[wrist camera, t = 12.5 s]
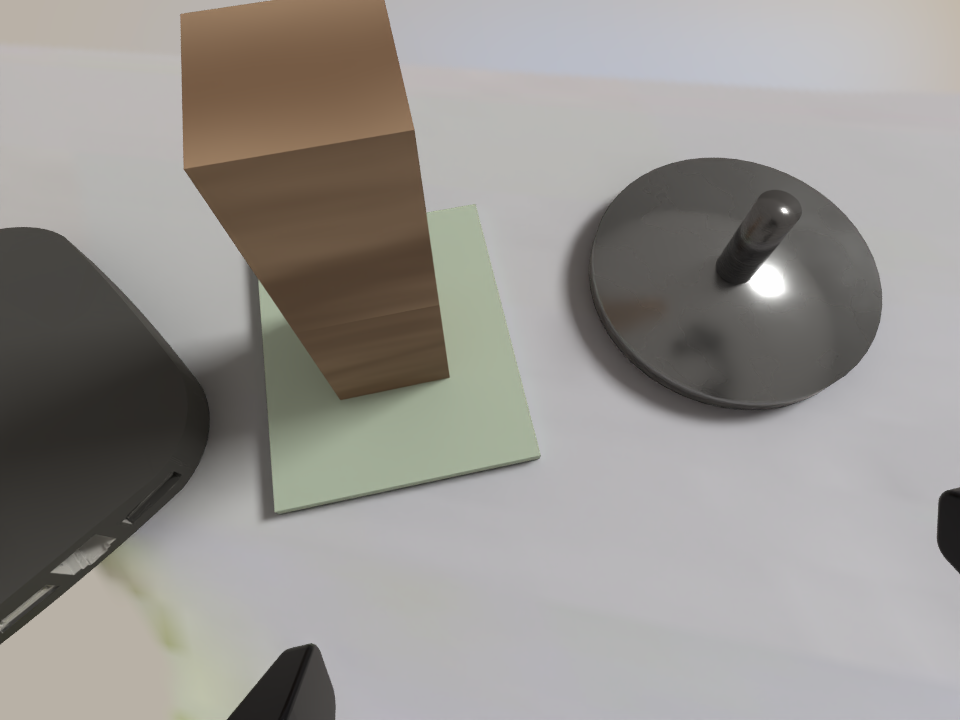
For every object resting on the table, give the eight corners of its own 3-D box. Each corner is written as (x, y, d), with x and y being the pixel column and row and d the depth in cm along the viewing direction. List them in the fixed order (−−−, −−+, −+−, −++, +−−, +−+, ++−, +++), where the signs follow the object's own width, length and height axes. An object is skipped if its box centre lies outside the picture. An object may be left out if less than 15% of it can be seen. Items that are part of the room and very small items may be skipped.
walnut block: (449, 377, 23) (414, 129, 11) (340, 400, 23) (183, 169, 11) (429, 284, 25) (380, -16, 13) (327, 304, 25) (180, 13, 13)
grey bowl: (920, 377, 24) (1025, 320, 19) (638, 437, 23) (677, 393, 18) (796, 154, 28) (856, 65, 24) (558, 196, 27) (573, 112, 23)
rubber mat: (539, 458, 22) (540, 455, 22) (279, 514, 22) (274, 512, 21) (475, 210, 27) (475, 203, 27) (259, 249, 26) (255, 242, 26)
